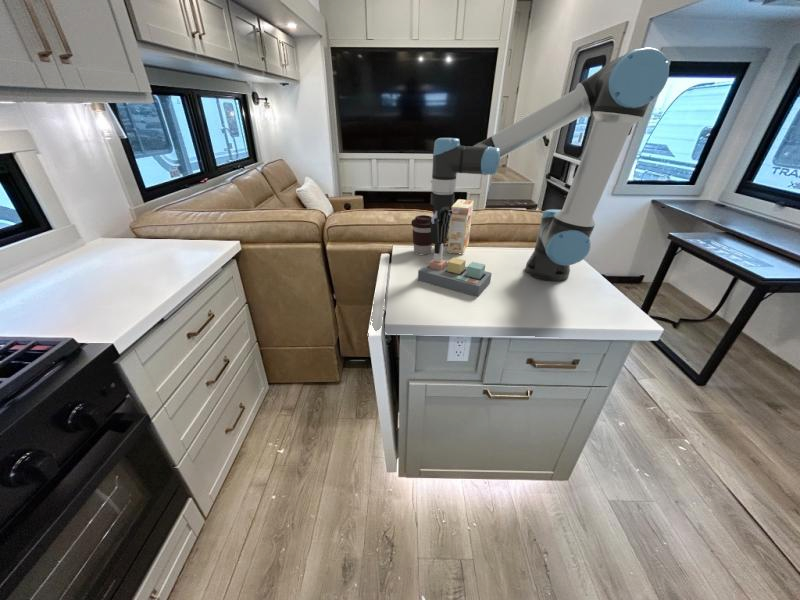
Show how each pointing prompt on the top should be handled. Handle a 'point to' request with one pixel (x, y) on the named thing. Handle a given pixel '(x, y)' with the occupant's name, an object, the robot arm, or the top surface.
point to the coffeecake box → (460, 226)
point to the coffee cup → (422, 234)
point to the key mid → (456, 265)
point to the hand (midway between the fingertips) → (437, 260)
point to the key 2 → (475, 270)
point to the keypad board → (454, 280)
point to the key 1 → (438, 265)
